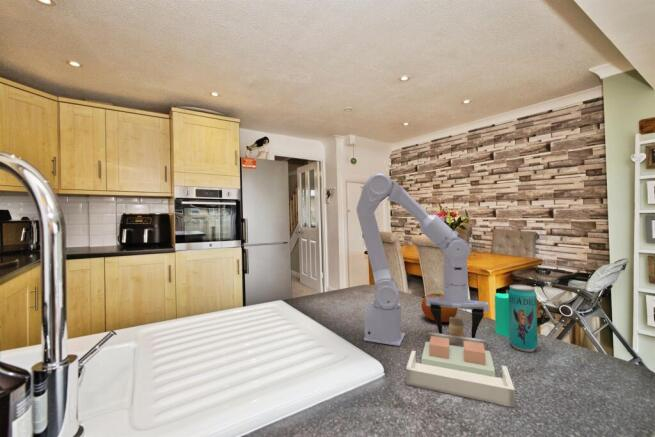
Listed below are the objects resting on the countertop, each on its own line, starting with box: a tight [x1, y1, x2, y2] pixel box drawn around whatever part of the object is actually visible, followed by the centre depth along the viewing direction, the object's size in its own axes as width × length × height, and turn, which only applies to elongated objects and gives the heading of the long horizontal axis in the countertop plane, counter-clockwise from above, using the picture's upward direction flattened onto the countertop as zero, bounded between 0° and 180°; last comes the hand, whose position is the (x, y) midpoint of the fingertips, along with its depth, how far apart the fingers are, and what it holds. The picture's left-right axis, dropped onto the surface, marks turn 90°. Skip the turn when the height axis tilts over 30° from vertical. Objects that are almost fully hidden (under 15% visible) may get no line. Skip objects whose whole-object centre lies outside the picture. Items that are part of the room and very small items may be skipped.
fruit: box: [421, 292, 458, 323], centre depth 91 cm, size 11×10×8 cm
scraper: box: [427, 316, 488, 351], centre depth 74 cm, size 13×8×6 cm, turn 66°
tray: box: [405, 350, 516, 409], centre depth 56 cm, size 18×8×3 cm, turn 66°
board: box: [421, 341, 496, 377], centre depth 64 cm, size 14×10×2 cm
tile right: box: [463, 341, 486, 365], centre depth 63 cm, size 4×5×2 cm
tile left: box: [429, 336, 449, 359], centre depth 66 cm, size 4×5×2 cm
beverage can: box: [507, 284, 538, 353], centre depth 71 cm, size 6×6×15 cm
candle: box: [494, 292, 509, 338], centre depth 80 cm, size 6×6×12 cm
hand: (456, 336), depth 74 cm, fingers open, 7 cm apart
